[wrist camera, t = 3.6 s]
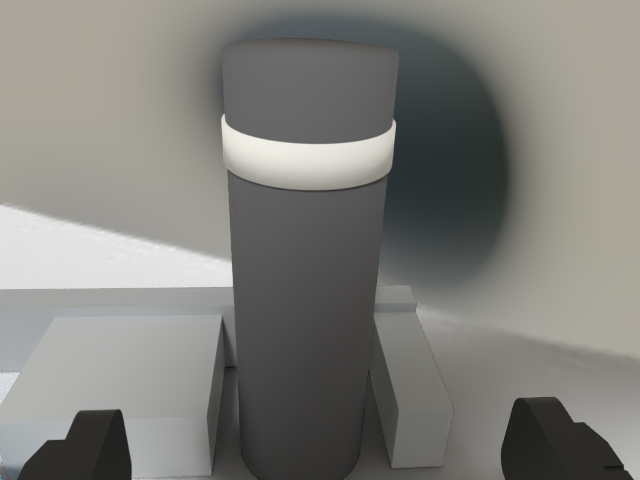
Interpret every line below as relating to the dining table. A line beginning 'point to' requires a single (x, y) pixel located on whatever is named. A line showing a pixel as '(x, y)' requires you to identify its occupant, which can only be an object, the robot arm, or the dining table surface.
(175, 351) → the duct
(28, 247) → the dining table surface
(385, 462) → the dining table surface
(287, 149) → the grey cylinder white band
